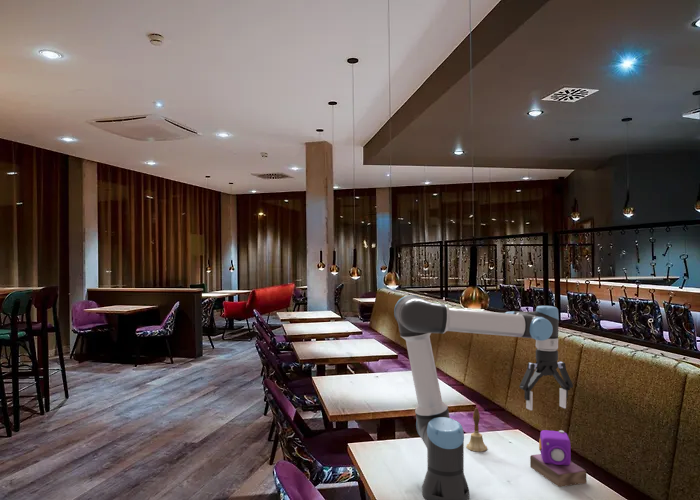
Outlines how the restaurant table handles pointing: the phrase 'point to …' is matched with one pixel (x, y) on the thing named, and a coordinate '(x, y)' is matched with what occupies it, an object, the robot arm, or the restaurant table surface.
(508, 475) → the restaurant table surface
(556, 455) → the toy camera
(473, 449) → the hand bell
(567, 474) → the walnut step
